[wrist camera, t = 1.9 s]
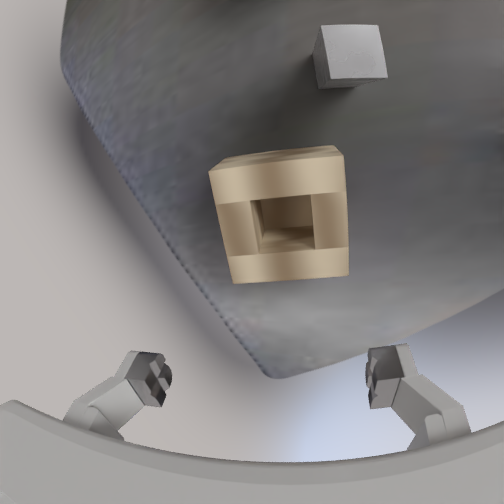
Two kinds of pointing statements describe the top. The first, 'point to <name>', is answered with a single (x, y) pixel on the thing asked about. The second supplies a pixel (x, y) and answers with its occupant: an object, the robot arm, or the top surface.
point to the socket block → (283, 214)
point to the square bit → (348, 56)
